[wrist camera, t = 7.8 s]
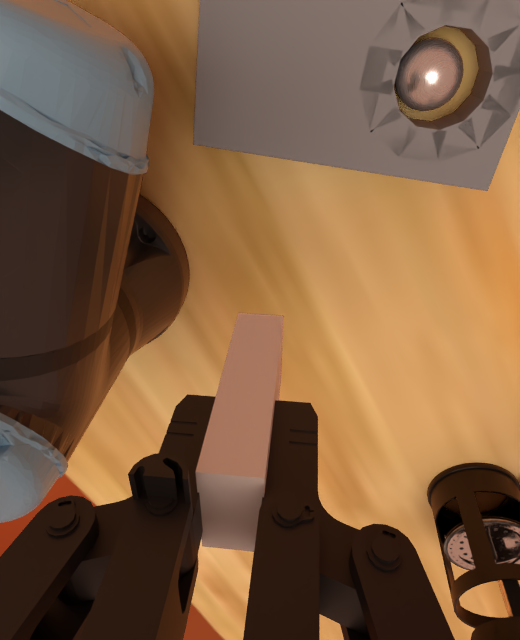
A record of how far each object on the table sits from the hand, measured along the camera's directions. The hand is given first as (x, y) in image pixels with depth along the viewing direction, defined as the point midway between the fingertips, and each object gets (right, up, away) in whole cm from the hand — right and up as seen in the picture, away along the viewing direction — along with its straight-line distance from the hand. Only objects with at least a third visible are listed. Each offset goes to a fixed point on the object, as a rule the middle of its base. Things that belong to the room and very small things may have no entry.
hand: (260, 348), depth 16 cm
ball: (+10, +16, +13) cm, 23 cm away
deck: (+6, +18, +15) cm, 24 cm away
